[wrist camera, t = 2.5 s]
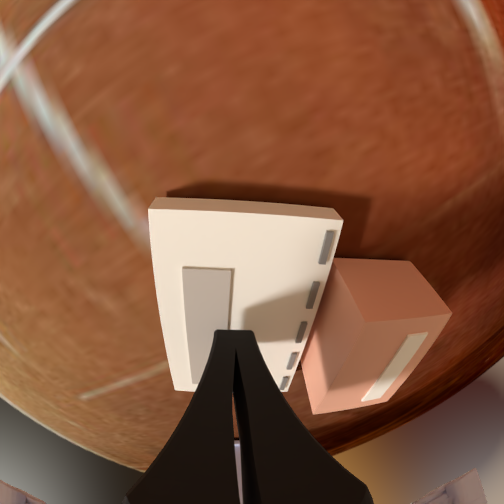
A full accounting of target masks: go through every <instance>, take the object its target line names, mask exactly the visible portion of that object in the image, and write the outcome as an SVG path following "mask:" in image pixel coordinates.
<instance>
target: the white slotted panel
mask: <svg viewBox="0 0 504 504" xmlns="http://www.w3.org/2000/svg"><path fill="white" fill-rule="evenodd" d="M148 216H149V229H150V241H151V252H152V261H153V270H154V278H155V286H156V293H157V300H158V307H159V313H160V319H161V325H162V331H163V336H164V341H165V347H166V352H167V357H168V361H169V366H170V371H171V375H172V380H173V384H174V388H175V390H180V391H194V392H195V391H196V388H197V386H198V384H199V382H200V379H201V377H202V374H203V371H204V369H205V366H206V363H207V361H208V357H209V354H210V351H211V347H212V342H213V337H214V331H215V330H217V329H223V330H252V331H253V332H254V335H255V338H256V341H257V344H258V346H259V349H260V352H261V354H262V356H263V358H264V361H265V363H266V365H267V367H268V369H269V371H270V373H271V375H272V377H273V379H274V381H275V382H276V384H277V386H278V388H279V389H280V391H281V392H287V391H288V388H289V386H290V383H291V381H292V378H293V376H294V373H295V371H296V368H297V366H298V363H299V360H300V358H301V355H302V352H303V350H304V347H305V344H306V341H307V339H308V336H309V333H310V330H311V327H312V324H313V322H314V319H315V316H316V313H317V310H318V307H319V304H320V301H321V297H322V294H323V291H324V288H325V285H326V281H327V278H328V275H329V272H330V268H331V265H332V261H333V258H334V254H335V251H336V247H337V244H338V240H339V236H340V232H341V229H342V225H343V221H344V220H343V219H342V218H341V217H340V216H339V214H338V213H337V212H336V211H335V210H334V208H325V207H315V206H305V205H294V204H282V203H269V202H255V201H239V200H221V199H199V198H168V197H156V198H155V199H154V201H153V202H152V204H151V205H150V207H149V208H148Z"/></svg>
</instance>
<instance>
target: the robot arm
mask: <svg viewBox="0 0 504 504" xmlns="http://www.w3.org/2000/svg"><path fill="white" fill-rule="evenodd" d="M232 393H233V397H234V405H235V412H236V419H237V426H238V433H239V440H234V430H233V415H232ZM0 504H46V503H45V502H44V501H42V500H40V499H38V498H36V497H34V496H32V495H30V494H28V493H27V492H25V491H22V490H20V489H18V488H15V487H13V486H11V485H9V484H7V483H5V482H3V481H2V480H0ZM122 504H374V503H373V499H372V497H371V494H370V492H369V490H368V487H367V486H366V485H365V484H364V483H363V482H362V481H360V480H359V479H358V478H356V477H355V476H354V475H353V474H351V473H350V472H349V471H348V470H347V469H345V468H344V467H343V466H342V465H341V464H340V463H339V462H338V461H336V460H335V459H334V458H333V457H332V456H331V455H330V454H329V453H328V452H327V451H326V450H325V449H324V448H323V447H322V445H321V444H320V443H319V442H318V441H317V440H316V439H315V438H314V437H313V436H312V435H311V433H310V432H309V431H308V430H307V428H306V427H305V426H304V425H303V424H302V422H301V421H300V420H299V418H298V417H297V416H296V414H295V413H294V411H293V410H292V408H291V407H290V405H289V404H288V402H287V401H286V399H285V398H284V396H283V394H282V393H281V391H280V389H279V388H278V386H277V384H276V382H275V381H274V379H273V377H272V375H271V373H270V371H269V369H268V367H267V365H266V363H265V361H264V358H263V356H262V354H261V352H260V349H259V346H258V344H257V341H256V338H255V335H254V332H253V331H252V330H223V329H217V330H215V331H214V337H213V342H212V347H211V351H210V354H209V357H208V361H207V363H206V366H205V369H204V371H203V374H202V377H201V379H200V382H199V384H198V386H197V388H196V391H195V393H194V395H193V397H192V399H191V402H190V404H189V406H188V407H187V409H186V411H185V413H184V415H183V417H182V419H181V420H180V422H179V424H178V426H177V427H176V429H175V430H174V432H173V434H172V435H171V437H170V439H169V440H168V442H167V443H166V445H165V446H164V448H163V449H162V450H161V452H160V453H159V454H158V456H157V457H156V459H155V460H154V461H153V463H152V464H151V465H150V467H149V468H148V469H147V470H146V472H145V473H144V474H143V475H142V476H141V478H140V479H139V480H138V481H137V482H136V483H135V484H134V486H132V488H131V489H130V490H129V491H128V492H127V493H126V496H125V498H124V500H123V502H122ZM410 504H487V501H486V497H485V494H484V490H483V487H482V484H481V481H480V478H479V475H478V472H477V469H476V468H474V469H472V470H471V471H469V472H467V473H466V474H464V475H462V476H460V477H459V478H457V479H455V480H453V481H450V482H448V483H446V484H444V485H442V486H440V487H438V488H436V489H435V490H433V491H431V492H429V493H427V494H426V495H425V496H424V497H423V498H421V499H419V500H416V501H414V502H413V503H410Z"/></svg>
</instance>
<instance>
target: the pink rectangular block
mask: <svg viewBox="0 0 504 504" xmlns="http://www.w3.org/2000/svg"><path fill="white" fill-rule="evenodd" d="M451 315H452V312H451V311H450V309H449V308H448V307H447V305H446V304H445V303H444V302H443V300H442V299H441V298H440V296H439V295H438V294H437V293H436V291H435V290H434V289H433V288H432V286H431V285H430V284H429V283H428V282H427V280H426V279H425V278H424V277H423V276H422V274H421V273H420V272H419V271H418V270H417V269H416V267H415V266H414V265H413V264H412V263H411V262H410V261H398V260H375V259H352V258H333V261H332V265H331V268H330V272H329V275H328V278H327V281H326V285H325V288H324V291H323V294H322V297H321V301H320V304H319V307H318V310H317V313H316V316H315V319H314V322H313V324H312V327H311V330H310V333H309V336H308V339H307V341H306V344H305V347H304V350H303V352H302V355H301V358H300V361H301V366H302V370H303V374H304V378H305V382H306V387H307V391H308V395H309V399H310V404H311V408H312V412H313V414H320V413H328V412H334V411H341V410H347V409H352V408H358V407H363V406H367V405H372V404H377V403H381V402H385V401H388V400H389V398H390V397H391V396H392V395H393V394H394V393H395V392H396V390H397V389H398V388H399V387H400V386H401V385H402V383H403V382H404V381H405V380H406V379H407V377H408V376H409V375H410V374H411V372H412V371H413V370H414V369H415V367H416V366H417V365H418V363H419V362H420V361H421V359H422V358H423V357H424V355H425V354H426V353H427V351H428V350H429V348H430V347H431V345H432V344H433V343H434V341H435V340H436V338H437V337H438V335H439V334H440V332H441V331H442V329H443V328H444V326H445V324H446V323H447V321H448V320H449V318H450V316H451Z"/></svg>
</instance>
